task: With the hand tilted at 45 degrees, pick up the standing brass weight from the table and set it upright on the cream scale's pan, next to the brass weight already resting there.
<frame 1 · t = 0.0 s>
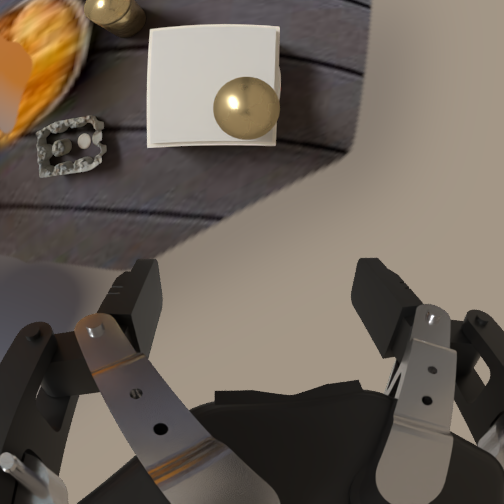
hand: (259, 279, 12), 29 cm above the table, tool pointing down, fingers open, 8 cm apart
scale: (214, 88, 33), on the table
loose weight: (128, 21, 28), on the table
grey piece: (76, 144, 35), on the table
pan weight: (241, 110, 29), point 7 cm above the table, touching scale
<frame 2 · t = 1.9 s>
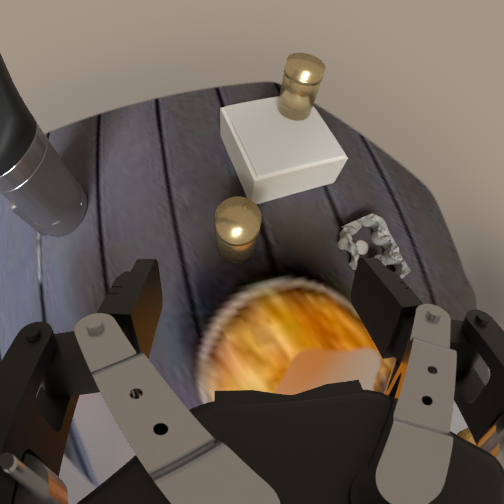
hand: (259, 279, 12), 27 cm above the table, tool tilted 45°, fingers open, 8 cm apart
scale: (276, 157, 46), on the table
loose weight: (236, 246, 41), on the table
grey piece: (367, 257, 42), on the table
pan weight: (294, 109, 41), point 7 cm above the table, touching scale
pastry: (454, 451, 32), on the table
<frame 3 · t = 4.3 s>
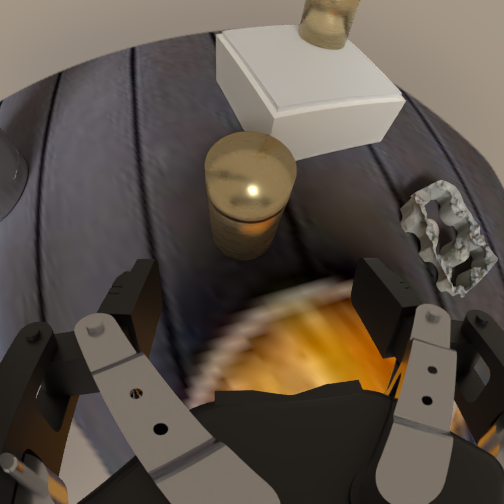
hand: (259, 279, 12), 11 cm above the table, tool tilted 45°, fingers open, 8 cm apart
scale: (297, 105, 30), on the table
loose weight: (243, 230, 24), on the table
grey piece: (438, 243, 26), on the table
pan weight: (321, 37, 24), point 7 cm above the table, touching scale
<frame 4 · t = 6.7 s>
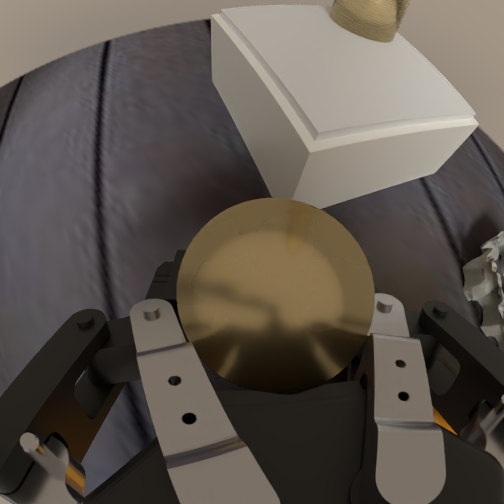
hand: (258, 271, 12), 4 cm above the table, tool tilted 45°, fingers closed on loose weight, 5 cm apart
scale: (326, 118, 21), on the table
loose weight: (252, 325, 16), on the table, touching gripper
grey piece: (498, 306, 18), on the table
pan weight: (362, 25, 16), point 7 cm above the table, touching scale
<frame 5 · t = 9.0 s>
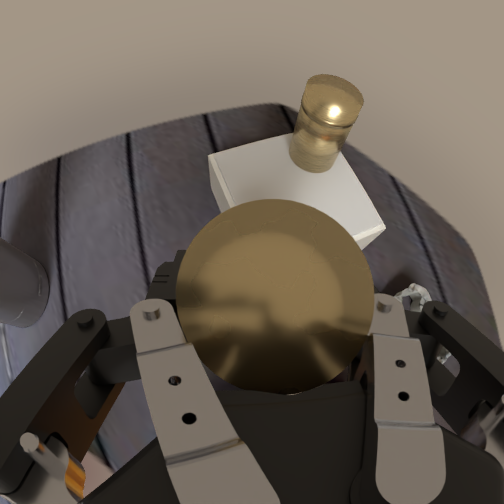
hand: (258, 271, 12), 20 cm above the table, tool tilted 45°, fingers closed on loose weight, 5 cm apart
scale: (286, 217, 35), on the table
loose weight: (252, 326, 16), point 16 cm above the table, touching gripper
grey piece: (406, 335, 32), on the table
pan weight: (312, 153, 30), point 7 cm above the table, touching scale
when the fingers open (13 cm above the table, at t = 11.4 s): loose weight drops 1 cm, resting on scale.
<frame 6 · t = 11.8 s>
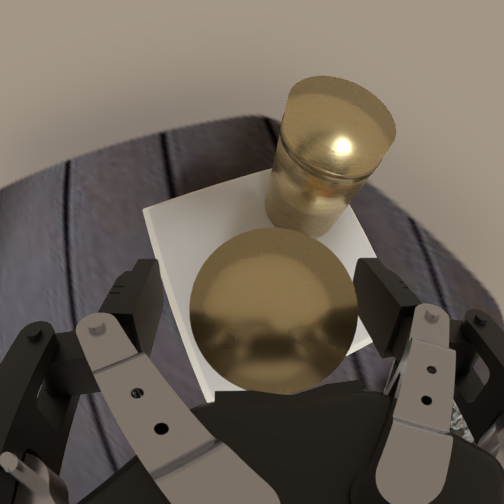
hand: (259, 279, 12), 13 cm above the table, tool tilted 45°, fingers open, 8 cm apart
scale: (264, 289, 25), on the table
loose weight: (253, 331, 17), point 7 cm above the table, touching scale
grey piece: (415, 426, 22), on the table
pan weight: (301, 205, 20), point 7 cm above the table, touching scale
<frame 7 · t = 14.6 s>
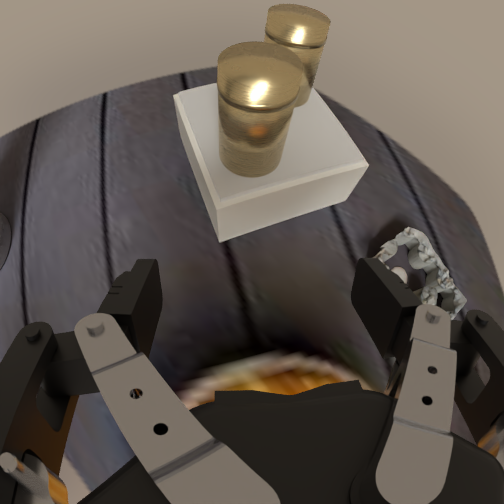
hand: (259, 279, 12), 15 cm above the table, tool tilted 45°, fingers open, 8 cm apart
scale: (260, 164, 31), on the table
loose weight: (250, 152, 23), point 7 cm above the table, touching scale
grey piece: (406, 289, 28), on the table
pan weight: (284, 91, 26), point 7 cm above the table, touching scale
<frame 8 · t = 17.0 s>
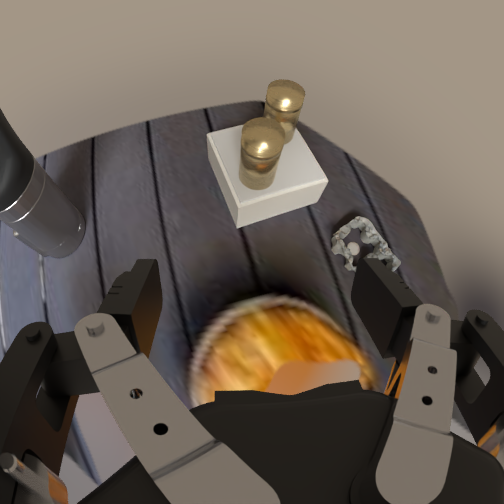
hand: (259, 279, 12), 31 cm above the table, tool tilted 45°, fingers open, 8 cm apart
scale: (261, 179, 49), on the table
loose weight: (256, 174, 41), point 7 cm above the table, touching scale
grey piece: (359, 256, 46), on the table
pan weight: (277, 133, 44), point 7 cm above the table, touching scale
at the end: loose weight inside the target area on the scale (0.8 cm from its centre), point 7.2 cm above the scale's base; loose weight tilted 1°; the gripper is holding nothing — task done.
